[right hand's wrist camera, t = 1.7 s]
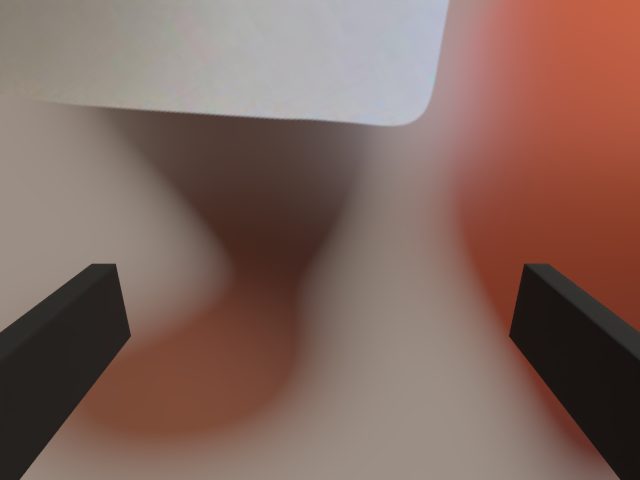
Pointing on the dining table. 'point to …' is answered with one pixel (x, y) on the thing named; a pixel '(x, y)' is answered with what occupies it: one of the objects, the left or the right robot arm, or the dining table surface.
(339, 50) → the dining table surface
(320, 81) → the dining table surface
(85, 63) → the dining table surface
